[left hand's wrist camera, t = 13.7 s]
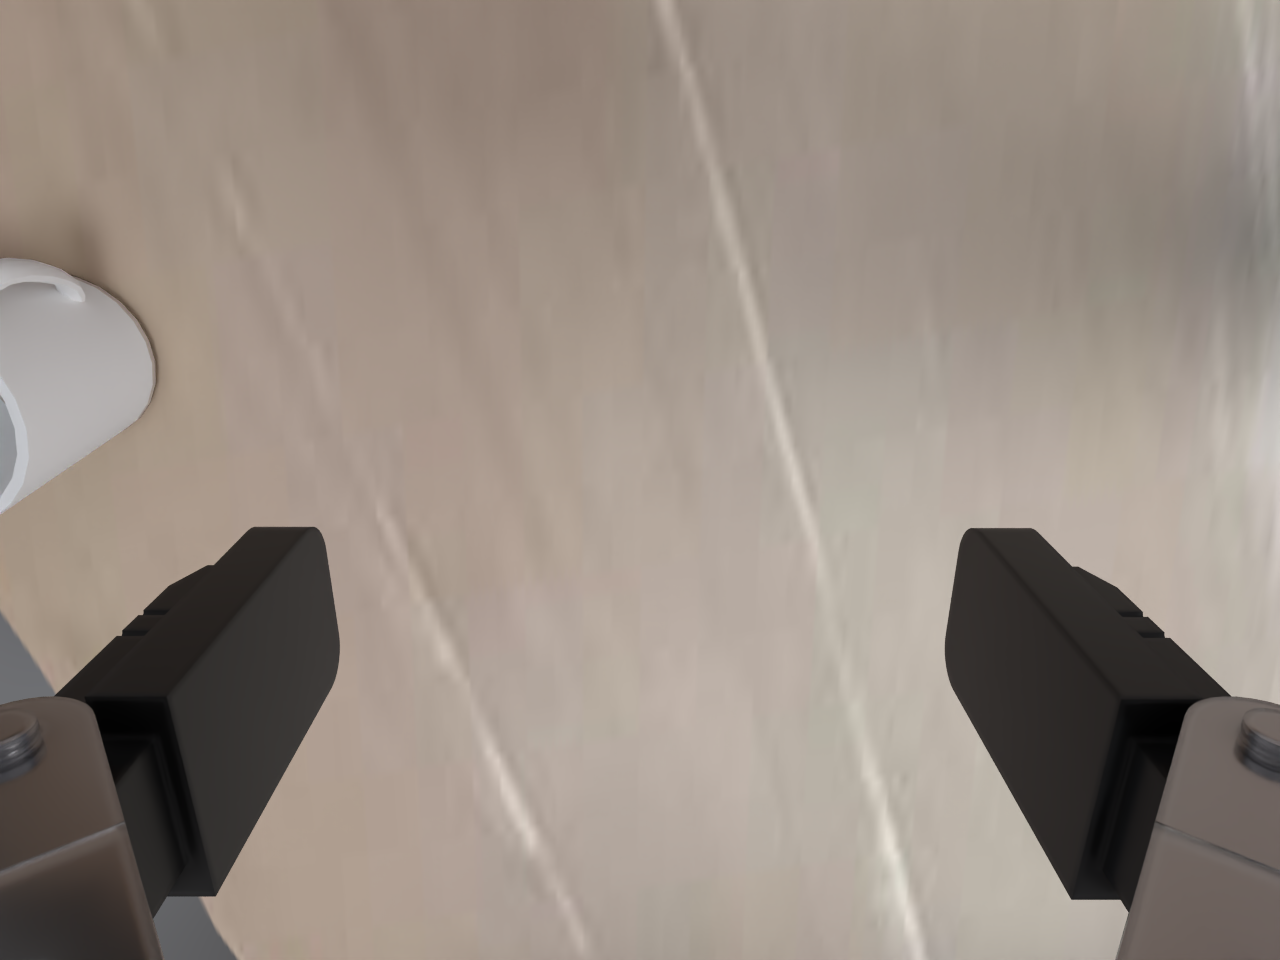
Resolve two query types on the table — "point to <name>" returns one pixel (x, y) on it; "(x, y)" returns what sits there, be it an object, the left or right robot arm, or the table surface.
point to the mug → (63, 373)
